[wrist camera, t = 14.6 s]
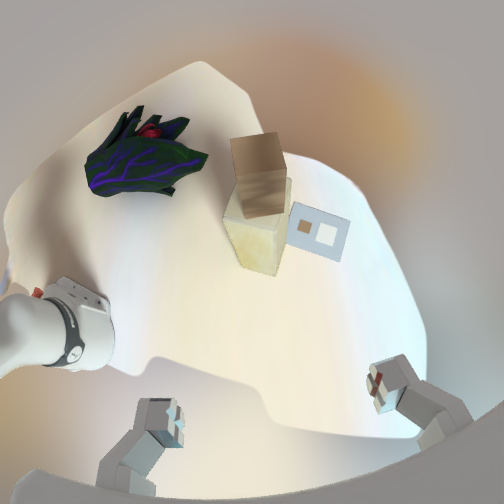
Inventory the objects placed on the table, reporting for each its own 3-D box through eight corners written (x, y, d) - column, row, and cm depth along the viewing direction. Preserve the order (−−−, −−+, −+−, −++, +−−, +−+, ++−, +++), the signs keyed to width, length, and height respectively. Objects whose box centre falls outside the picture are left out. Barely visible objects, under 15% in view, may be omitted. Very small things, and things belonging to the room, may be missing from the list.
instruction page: (280, 241, 54) (280, 241, 53) (294, 202, 56) (294, 201, 56) (339, 262, 52) (339, 261, 52) (350, 221, 54) (350, 221, 54)
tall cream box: (250, 228, 55) (237, 165, 35) (287, 238, 54) (293, 177, 34) (237, 266, 53) (215, 219, 33) (275, 277, 51) (276, 235, 31)
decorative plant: (140, 177, 71) (244, 142, 63) (105, 249, 54) (235, 214, 46) (102, 117, 56) (211, 64, 48) (44, 177, 39) (179, 102, 31)
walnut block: (245, 219, 32) (235, 176, 24) (240, 186, 34) (230, 139, 25) (284, 213, 32) (286, 168, 24) (276, 180, 34) (276, 131, 25)
